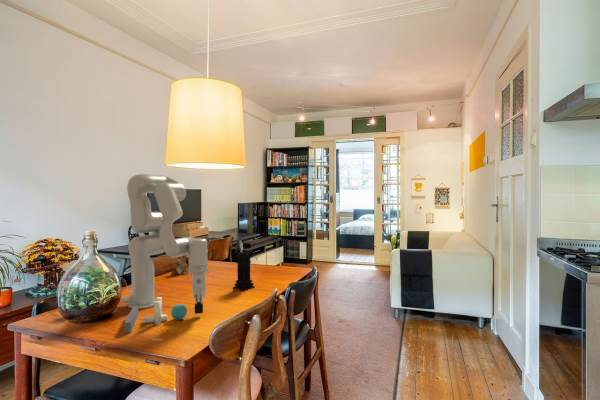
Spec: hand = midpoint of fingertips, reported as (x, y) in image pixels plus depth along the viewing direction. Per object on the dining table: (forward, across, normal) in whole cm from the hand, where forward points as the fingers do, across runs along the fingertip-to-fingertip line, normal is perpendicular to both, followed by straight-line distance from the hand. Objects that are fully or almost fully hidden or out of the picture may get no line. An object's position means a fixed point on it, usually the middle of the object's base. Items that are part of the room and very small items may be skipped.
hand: (198, 312), depth 136 cm
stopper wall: (+2, 0, +25) cm, 25 cm away
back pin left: (+2, +2, +16) cm, 16 cm away
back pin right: (+2, -2, +16) cm, 16 cm away
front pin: (0, 0, +12) cm, 12 cm away
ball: (-2, -1, +8) cm, 8 cm away
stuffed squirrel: (+2, +85, +8) cm, 85 cm away
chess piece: (+2, +36, -24) cm, 43 cm away
